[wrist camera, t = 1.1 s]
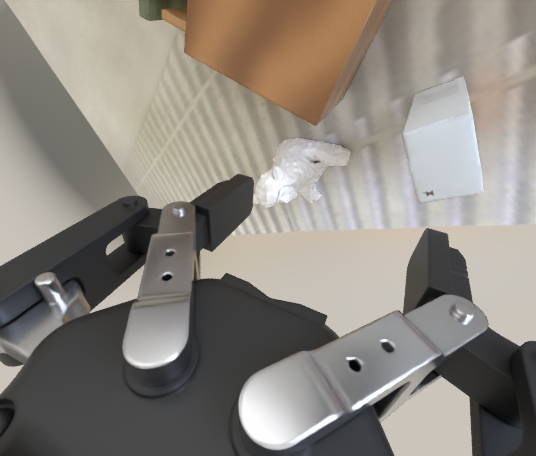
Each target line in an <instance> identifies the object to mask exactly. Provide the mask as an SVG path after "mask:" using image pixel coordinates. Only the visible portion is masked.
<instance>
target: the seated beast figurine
mask: <svg viewBox="0 0 536 456" xmlns="http://www.w3.org/2000/svg"><path fill="white" fill-rule="evenodd" d="M350 155H351V151H349V150H348V149H346V148H343V147H342V146H341V145H338V146H337V145H335V144H329V143H324V142H322V141H320V142H319V141H318V142H315V141H314V140H308V139H304V138H298V137H296V138H294V139H286V140H284V141H282V143H281V144H280V145H278V146H277V149H276V150H275V156H274V157H273V158H272V160H273V161H274V166H273V168H271V169H270V170H269V171H267V172H266V173H265V174H264V175H261V178H260V179H259V180H258V181H257V184H256V188H255V192H256V193H255V194H254V195H253V205H254V204H261V205H262V207H265V208H270V207H271V206H275V205H276V204H278V203H283V202H284V203H286V204H287V203H288V202H289V201H290V200H293V199H295V198H296V197H297V194H298V193H299V194H300V195H301V196H303V197H304V199H306V200H307V201H308V202H309V203H310V204H311V203H312V202H313V201H316V200H318V199H319V198H320V197H321V193H320V191H319V190H318V189H317V185H316V182H317V181H318V180H319V178H320V176H321V175H322V173H324V171H325V169H326V168H327V167H328V165H329V166H345V165H347V164H348V161H349V159H350ZM315 161H318V162H317V163H314V162H315Z"/></svg>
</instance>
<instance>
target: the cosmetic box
mask: <svg viewBox="0 0 536 456" xmlns="http://www.w3.org/2000/svg"><path fill="white" fill-rule="evenodd" d="M402 138H403V142H404V146H405V150H406V154H407V158H408V163H409V169H410V173H411V176H412V180H413V184H414V187H415V191H416V195H417V199H418V202H419V203H426V202H431V201H437V200H443V199H449V198H455V197H462V196H468V195H474V194H479V193H483V181H482V171H481V164H480V158H479V151H478V145H477V138H476V132H475V126H474V120H473V115H472V110H471V105H470V101H469V96H468V92H467V88H466V84H465V80H464V77H459V78H457V79H455V80H452V81H449V82H447V83H444V84H441V85H438V86H435V87H433V88H430V89H427V90H425V91H422V92H419V93H417V94H415V95H414V98H413V101H412V104H411V107H410V110H409V113H408V117H407V120H406V123H405V126H404V129H403V132H402Z"/></svg>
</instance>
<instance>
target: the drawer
mask: <svg viewBox="0 0 536 456" xmlns="http://www.w3.org/2000/svg"><path fill="white" fill-rule="evenodd" d="M139 12H140V16H141V17H143V18H144V19H146V20H148V21H154V20H165V21H167V22H169V23H171V24H172V25H174V26H176V27H178V28H180V29H181V30H183V31H185V32H186V16H187V0H139Z"/></svg>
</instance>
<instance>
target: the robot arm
mask: <svg viewBox="0 0 536 456" xmlns="http://www.w3.org/2000/svg"><path fill="white" fill-rule="evenodd" d="M253 189H254V180H253V178H252V177H248V176H245V175H241V174H237V175H236V176H234V177H233V178H231V179H230V180H226V181H223V182H220V183H217V184H216V185H215V186H213V187H212V188H211V189H209V190H207V191H206V192H204V193H203V194H201V195H200V196H198V197H197V198H195V199H194V200H193V201H191V202H190V203H188V202H183V201H179V202H173V203H170V204H168V205H166V206H165V207H164V208H163V209H155V208H148V203H147V200H146V199H145V198H144V197H141V196H128V197H123V198H121V199H118V200H117V201H115V202H113V203H111V204H109V205H108V206H106V207H104V208H102V209H101V210H99V211H97V212H95V213H93V214H92V215H90V216H88V217H87V218H85V219H83V220H81V221H79V222H78V223H76V224H74V225H72V226H70V227H69V228H67V229H65V230H63V231H62V232H60V233H58V234H56V235H55V236H53V237H51V238H49V239H47V240H46V241H44V242H42V243H41V244H39V245H37V246H35V247H33V248H32V249H30V250H28V251H26V252H24V253H23V254H21V255H19V256H18V257H16V258H14V259H12V260H10V261H9V262H7V263H5V264H3V265H2V266H0V361H1V362H2V363H3V364H5V365H7V366H19V365H23V364H24V366H23V367H22V369H21V370H20V372H19V373H18V374H17V376H16V377H15V378H14V379H13V381H12V382H11V383H10V385H9V386H8V387H7V388H6V389H5V390H4V391H3V392H2V393H1V394H0V456H394V454H393V451H392V449H391V447H390V444H389V442H388V440H387V438H386V436H385V433H384V431H383V428H382V426H381V424H380V422H381V421H383V420H384V419H386V418H387V417H388V416H390V415H391V414H392V413H393V412H395V411H396V410H397V409H398V408H399V407H400V406H401V405H402V404H404V403H405V402H406V401H407V400H409V399H410V398H412V397H413V396H415V395H416V394H417V393H419V392H420V391H422V390H423V389H425V388H426V387H427V386H429V385H430V384H432V383H433V382H435V381H436V380H438V379H439V378H440V377H443V378H445V379H446V380H448V381H449V382H450V383H452V384H453V385H454V386H456V387H457V388H458V389H460V390H461V391H463V392H464V393H465V394H467V395H468V396H469V397H470V416H471V434H472V455H473V456H536V341H528V342H525V343H524V344H523V345H521V346H518V345H516V344H515V343H513V342H511V341H509V340H508V339H506V338H504V337H502V336H501V335H499V334H498V333H496V332H495V331H493V330H492V329H490V328H489V327H488V320H487V317H486V316H485V314H484V313H483V311H482V310H481V309H480V308H478V306H476V305H475V304H474V303H473V301H472V295H471V290H470V284H469V278H468V272H467V270H466V269H467V266H466V261H465V258H464V257H463V256H462V254H461V253H460V252H459V251H458V250H457V249H454V248H451V247H449V241H448V235H447V233H443V232H439V231H436V230H433V229H429V228H426V230H425V231H424V233H423V235H422V237H421V238H420V240H419V243H418V244H417V247H416V248H415V250H414V252H413V254H412V256H411V258H410V261H409V264H408V267H407V276H406V287H405V298H404V310H403V314H402V313H401V312H400V311H394V312H392V313H389V314H387V315H385V316H383V317H381V318H379V319H377V320H375V321H373V322H371V323H369V324H367V325H365V326H362V327H360V328H358V329H356V330H354V331H352V332H350V333H348V334H346V335H344V336H342V337H340V338H339V337H338V336H337V334H336V333H335V332H334V331H333V330H331V329H330V328H329V327H328V326H326V325H325V322H326V319H327V315H325V314H322V313H320V312H317V311H315V310H313V309H310V308H308V307H306V306H303V305H301V304H297V303H292V302H286V301H282V300H276V299H272V298H269V297H268V296H266V295H265V294H264V293H262V292H261V291H260V290H258V289H257V288H256V287H254V286H253V285H252V284H250V283H249V282H247V281H244V280H242V279H240V278H237V277H235V276H233V275H230V274H228V273H226V274H225V275H224V276H223V277H222V278H221V279H200V250H201V249H203V248H204V249H206V250H209V251H211V252H212V251H213V250H214V249H215V248H216V247H217V246H219V245H220V244H221V243H222V242H223V241H224V240H225V239H226V238H227V236H229V235H230V234H231V233H232V232H233V231H234V230H235V229H236V228H237V227H238V226H239V225H240V224H241V223H242V222H243V221H244V220H245V219H246V218H247V217H248V216H249V215H250V213H251V211H252V207H253ZM121 234H122V236H123V239H124V242H125V243H124V244H122V245H121V246H120V247H118V248H117V249H116V250H114V251H113V252H112V253H110V254H109V255H106V247H107V245H108V244H109V243H110V242H111V241H112V240H114V239H115V238H117V237H118V236H120V235H121ZM144 264H145V266H144V271H143V275H142V280H141V284H140V289H139V294H138V297H137V299H134V300H131V301H128V302H125V303H121V304H118V305H115V306H112V307H109V308H106V309H103V310H99V311H96V312H93V313H90V311H91V310H92V309H93V308H95V307H96V306H97V305H98V304H99V303H101V302H102V301H103V300H104V299H105V298H106V297H107V296H108V295H110V294H111V293H112V292H113V291H114V290H115V289H117V288H118V287H119V286H120V285H121V284H122V283H123V282H125V281H126V280H127V279H128V278H129V277H130V276H131V275H133V274H134V273H135V272H136V271H137V270H138V269H140V268H141V267H142V266H143V265H144ZM89 313H90V314H89Z"/></svg>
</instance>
